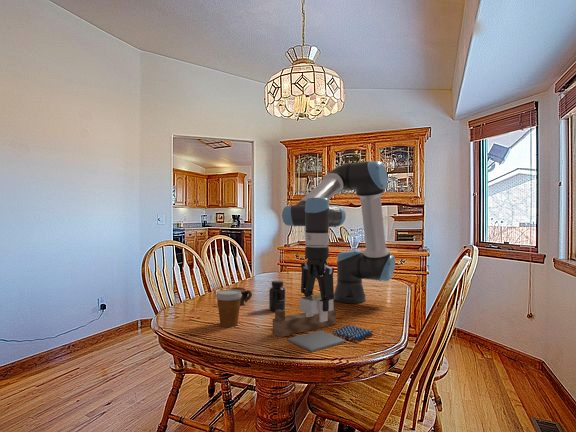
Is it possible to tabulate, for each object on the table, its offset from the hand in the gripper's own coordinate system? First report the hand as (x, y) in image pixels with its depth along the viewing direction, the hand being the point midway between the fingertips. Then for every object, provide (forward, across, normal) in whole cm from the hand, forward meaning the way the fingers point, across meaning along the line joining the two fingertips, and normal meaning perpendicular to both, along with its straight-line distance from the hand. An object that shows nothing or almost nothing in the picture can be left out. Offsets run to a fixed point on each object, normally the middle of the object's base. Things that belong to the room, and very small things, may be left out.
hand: (316, 318), depth 114 cm
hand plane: (+7, -12, +5) cm, 15 cm away
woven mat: (+8, +2, +14) cm, 16 cm away
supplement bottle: (+7, -39, +11) cm, 41 cm away
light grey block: (-3, 0, 0) cm, 3 cm away
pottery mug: (+7, -58, +3) cm, 59 cm away
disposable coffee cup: (+7, -32, -15) cm, 36 cm away
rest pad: (+7, 0, 0) cm, 7 cm away
